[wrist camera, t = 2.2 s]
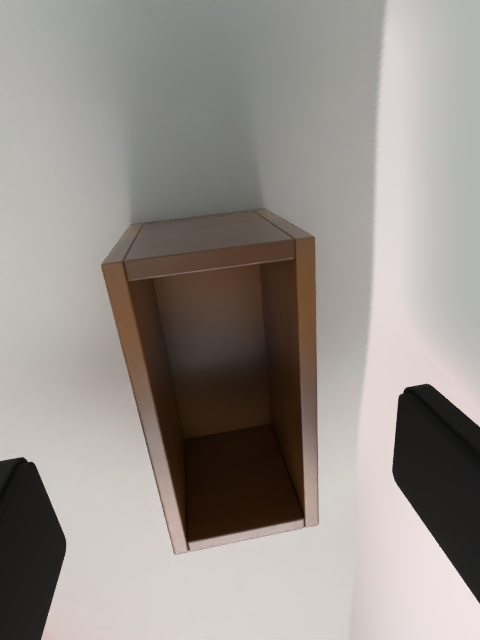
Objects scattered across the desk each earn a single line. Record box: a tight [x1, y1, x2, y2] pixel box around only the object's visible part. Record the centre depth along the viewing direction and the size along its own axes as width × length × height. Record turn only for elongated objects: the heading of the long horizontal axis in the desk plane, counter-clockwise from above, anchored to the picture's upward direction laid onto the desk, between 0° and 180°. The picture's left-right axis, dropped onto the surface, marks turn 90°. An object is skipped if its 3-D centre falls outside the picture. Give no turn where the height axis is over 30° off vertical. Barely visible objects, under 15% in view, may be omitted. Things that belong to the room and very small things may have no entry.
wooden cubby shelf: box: [101, 209, 319, 554], centre depth 13 cm, size 10×5×6 cm, turn 6°
